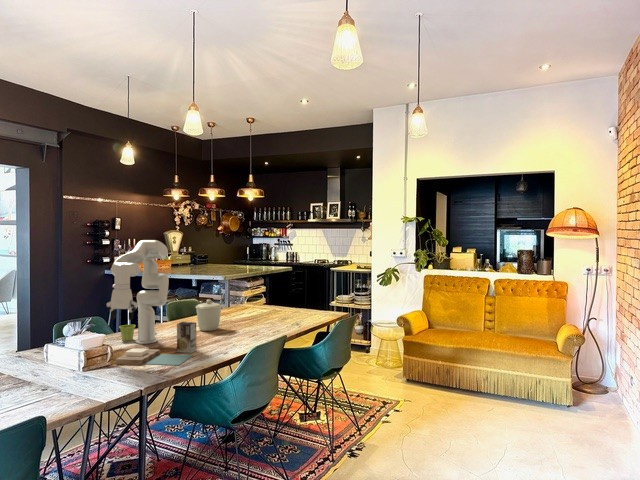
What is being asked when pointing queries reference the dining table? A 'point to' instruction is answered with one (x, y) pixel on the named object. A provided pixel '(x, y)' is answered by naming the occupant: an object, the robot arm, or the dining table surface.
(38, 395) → the dining table surface
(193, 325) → the coffee box
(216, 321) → the canister
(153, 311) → the robot arm
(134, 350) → the tile
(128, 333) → the plant pot
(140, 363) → the walnut deck
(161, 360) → the teal mat
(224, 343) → the dining table surface
